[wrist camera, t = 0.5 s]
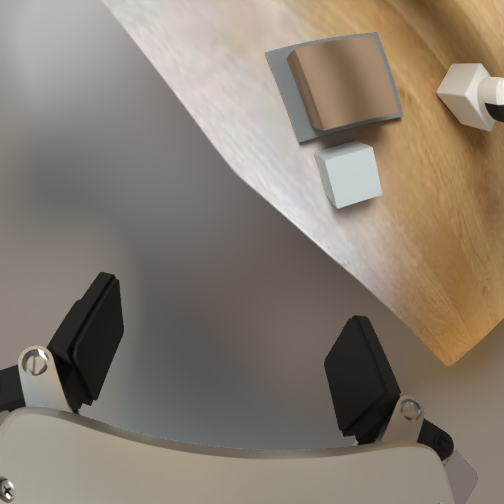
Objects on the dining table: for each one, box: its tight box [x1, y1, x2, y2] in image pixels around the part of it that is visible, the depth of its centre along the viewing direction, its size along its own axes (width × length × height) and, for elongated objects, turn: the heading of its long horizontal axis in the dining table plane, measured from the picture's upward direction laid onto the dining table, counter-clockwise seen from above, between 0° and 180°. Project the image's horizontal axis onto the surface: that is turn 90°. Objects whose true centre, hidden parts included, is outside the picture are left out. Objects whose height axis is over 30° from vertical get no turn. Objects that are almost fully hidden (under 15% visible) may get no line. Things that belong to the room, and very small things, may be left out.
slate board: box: [265, 33, 403, 142], centre depth 27 cm, size 15×12×1 cm
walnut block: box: [286, 36, 399, 131], centre depth 24 cm, size 9×9×6 cm
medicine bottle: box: [436, 63, 504, 131], centre depth 21 cm, size 7×7×12 cm
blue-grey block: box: [314, 141, 382, 209], centre depth 31 cm, size 6×6×6 cm
